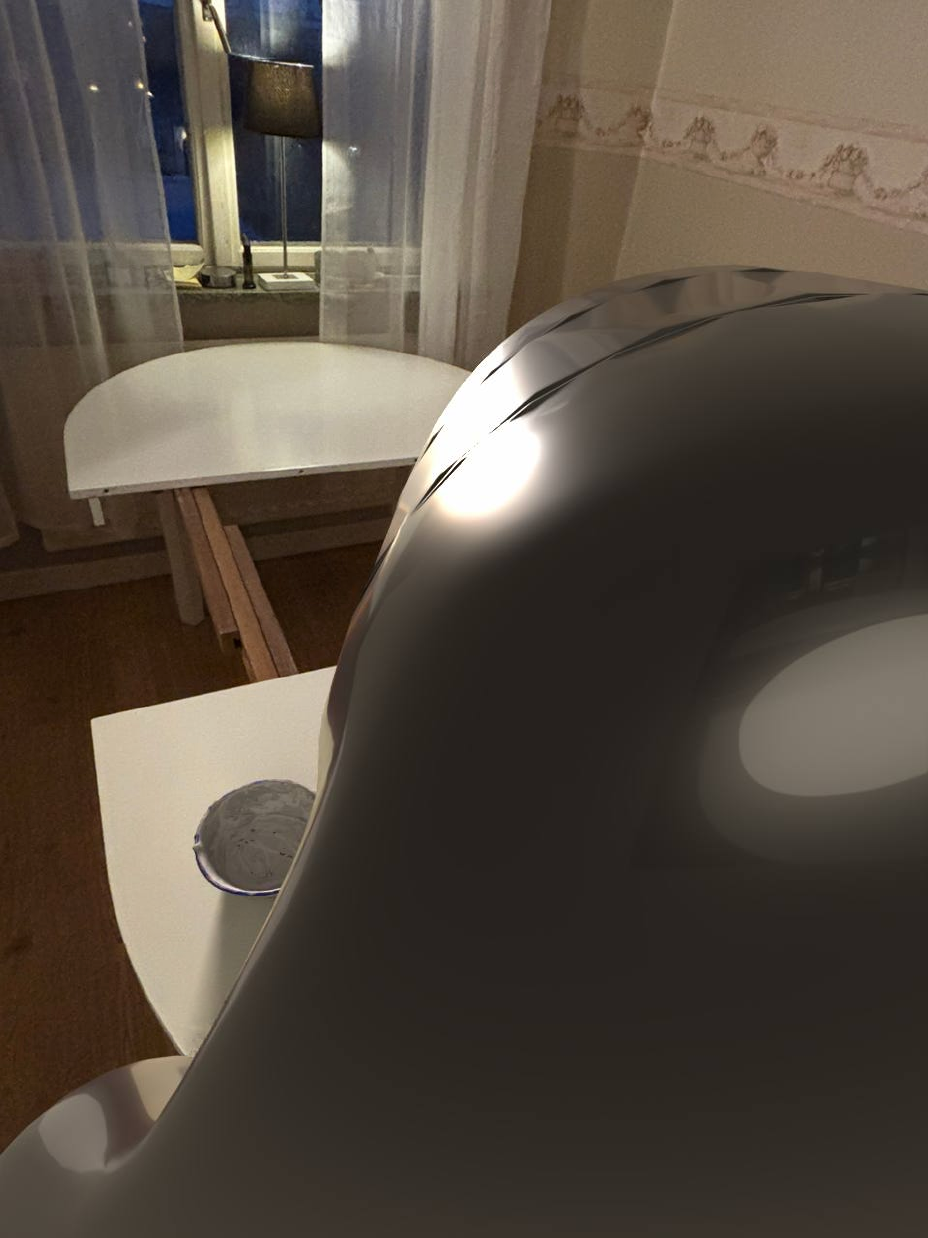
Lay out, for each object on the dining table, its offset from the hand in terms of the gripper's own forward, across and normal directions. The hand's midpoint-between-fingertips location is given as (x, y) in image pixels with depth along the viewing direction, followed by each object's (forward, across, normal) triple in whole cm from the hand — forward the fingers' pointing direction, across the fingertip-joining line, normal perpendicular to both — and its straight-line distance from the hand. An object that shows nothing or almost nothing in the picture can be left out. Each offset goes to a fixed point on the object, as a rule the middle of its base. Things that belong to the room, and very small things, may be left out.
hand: (424, 1071), depth 51 cm
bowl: (+12, +26, +2) cm, 28 cm away
